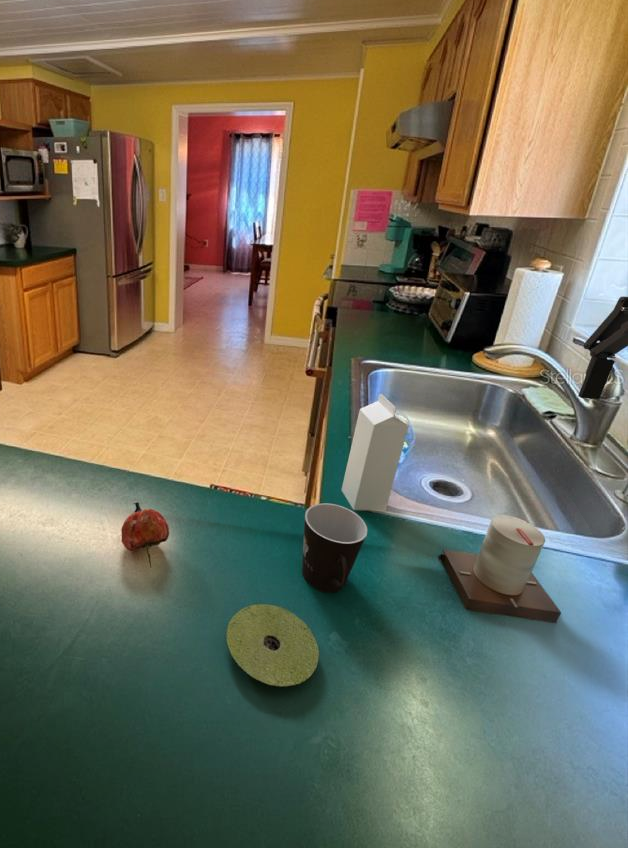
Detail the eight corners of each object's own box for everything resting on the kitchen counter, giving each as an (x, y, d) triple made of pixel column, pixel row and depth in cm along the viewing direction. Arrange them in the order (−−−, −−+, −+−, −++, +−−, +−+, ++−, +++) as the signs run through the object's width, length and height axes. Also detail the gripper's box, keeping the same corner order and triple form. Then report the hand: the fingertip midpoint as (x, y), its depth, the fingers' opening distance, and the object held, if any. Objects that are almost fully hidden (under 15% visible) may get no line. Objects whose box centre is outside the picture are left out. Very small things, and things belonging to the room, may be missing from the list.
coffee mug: (303, 547, 77) (314, 496, 73) (358, 569, 73) (372, 517, 69) (280, 595, 67) (290, 540, 63) (341, 624, 63) (356, 566, 60)
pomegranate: (172, 567, 74) (163, 504, 79) (175, 560, 67) (165, 492, 72) (125, 575, 73) (118, 510, 78) (123, 568, 66) (116, 499, 71)
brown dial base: (517, 568, 75) (522, 557, 74) (557, 625, 65) (563, 613, 64) (438, 557, 76) (442, 546, 75) (466, 611, 67) (470, 599, 66)
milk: (369, 498, 90) (397, 393, 82) (384, 518, 85) (414, 408, 76) (338, 497, 90) (363, 392, 82) (351, 518, 84) (378, 407, 76)
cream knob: (465, 559, 73) (483, 511, 70) (508, 564, 73) (529, 516, 69) (486, 592, 67) (507, 541, 64) (533, 598, 67) (556, 546, 63)
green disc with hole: (214, 619, 63) (216, 608, 62) (293, 609, 65) (295, 598, 64) (241, 704, 53) (243, 692, 52) (332, 689, 55) (336, 677, 54)
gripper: (826, 291, 49) (730, 464, 57) (639, 259, 72) (589, 386, 80) (747, 286, 50) (663, 458, 58) (587, 256, 73) (542, 382, 81)
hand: (620, 416), depth 69 cm, fingers open, 13 cm apart
